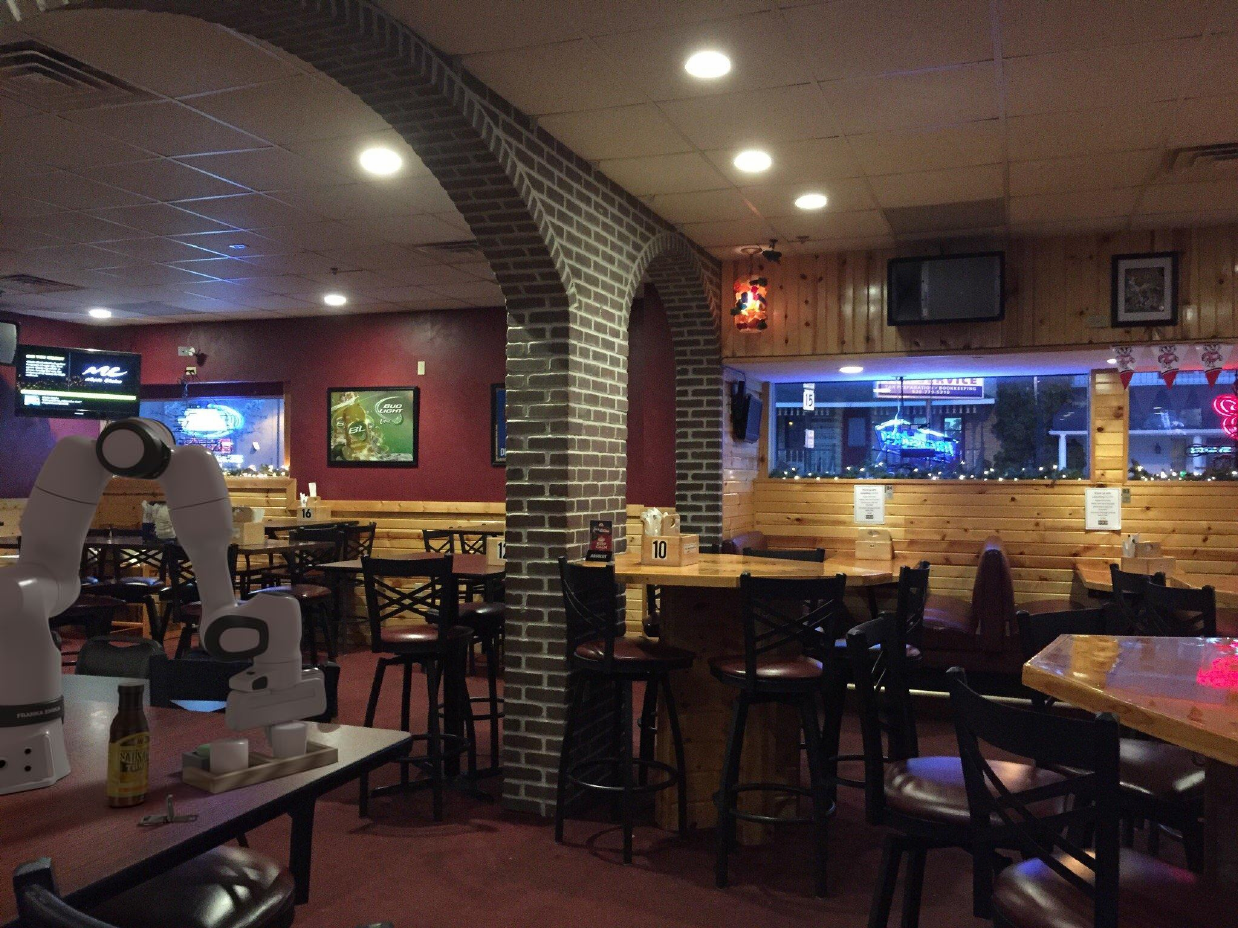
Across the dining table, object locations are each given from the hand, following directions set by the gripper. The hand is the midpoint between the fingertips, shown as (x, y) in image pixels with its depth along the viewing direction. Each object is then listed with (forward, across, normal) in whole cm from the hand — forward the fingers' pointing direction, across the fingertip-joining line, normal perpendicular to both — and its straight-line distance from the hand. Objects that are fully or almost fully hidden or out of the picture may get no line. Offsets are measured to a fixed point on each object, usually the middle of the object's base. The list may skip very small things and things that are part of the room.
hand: (277, 745), depth 194 cm
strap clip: (+3, +31, +18) cm, 36 cm away
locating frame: (+2, +7, +5) cm, 9 cm away
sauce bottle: (+3, +31, +4) cm, 31 cm away
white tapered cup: (+3, 0, +4) cm, 5 cm away
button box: (+2, +12, -3) cm, 13 cm away
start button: (+1, +12, -3) cm, 13 cm away
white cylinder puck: (+2, +14, +6) cm, 15 cm away
